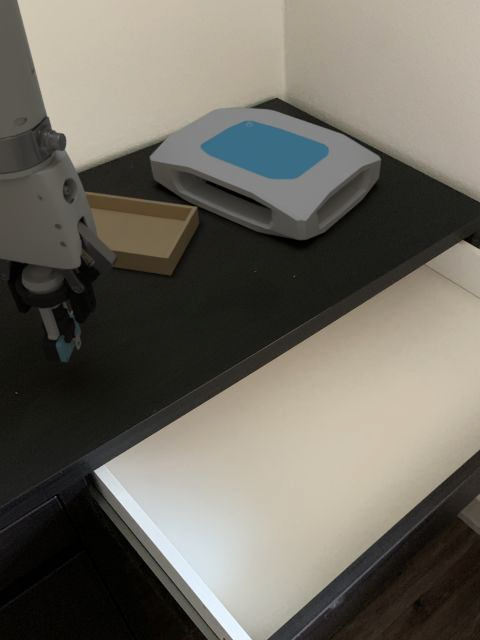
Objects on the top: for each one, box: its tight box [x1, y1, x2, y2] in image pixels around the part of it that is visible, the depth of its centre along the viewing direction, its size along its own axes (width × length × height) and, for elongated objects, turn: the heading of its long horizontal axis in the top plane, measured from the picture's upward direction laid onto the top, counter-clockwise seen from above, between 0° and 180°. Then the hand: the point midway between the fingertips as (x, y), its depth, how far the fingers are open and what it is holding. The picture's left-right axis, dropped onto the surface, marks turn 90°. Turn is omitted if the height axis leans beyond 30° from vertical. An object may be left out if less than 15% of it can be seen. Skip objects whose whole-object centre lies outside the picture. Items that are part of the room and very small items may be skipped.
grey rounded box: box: [149, 106, 382, 241], centre depth 99 cm, size 21×28×6 cm
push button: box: [15, 264, 82, 363], centre depth 67 cm, size 7×5×10 cm
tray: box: [82, 191, 200, 277], centre depth 91 cm, size 18×12×3 cm
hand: (57, 307), depth 67 cm, fingers closed on push button, 5 cm apart
